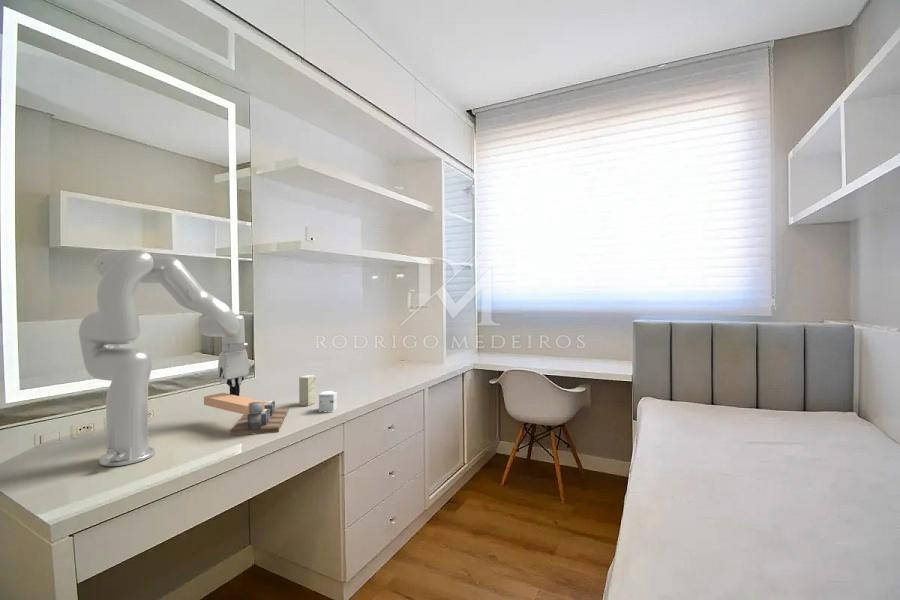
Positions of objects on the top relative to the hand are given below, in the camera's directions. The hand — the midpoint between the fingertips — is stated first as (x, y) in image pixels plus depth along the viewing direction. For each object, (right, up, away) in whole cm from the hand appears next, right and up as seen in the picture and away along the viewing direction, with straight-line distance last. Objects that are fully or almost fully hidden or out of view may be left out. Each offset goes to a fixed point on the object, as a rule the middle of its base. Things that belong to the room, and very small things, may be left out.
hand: (234, 396), depth 155 cm
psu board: (+11, -9, -3) cm, 15 cm away
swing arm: (+5, -2, -9) cm, 10 cm away
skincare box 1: (+19, -9, +23) cm, 32 cm away
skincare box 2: (+31, -9, +14) cm, 35 cm away
